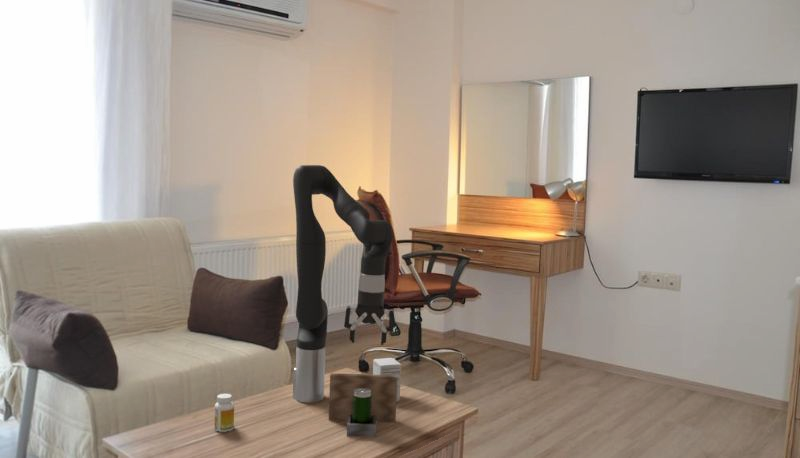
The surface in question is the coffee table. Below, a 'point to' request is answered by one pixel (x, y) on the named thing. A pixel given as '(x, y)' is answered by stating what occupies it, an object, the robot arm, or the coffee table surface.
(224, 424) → the supplement bottle
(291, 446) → the coffee table surface
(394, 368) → the supplement box
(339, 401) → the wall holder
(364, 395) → the beer can
